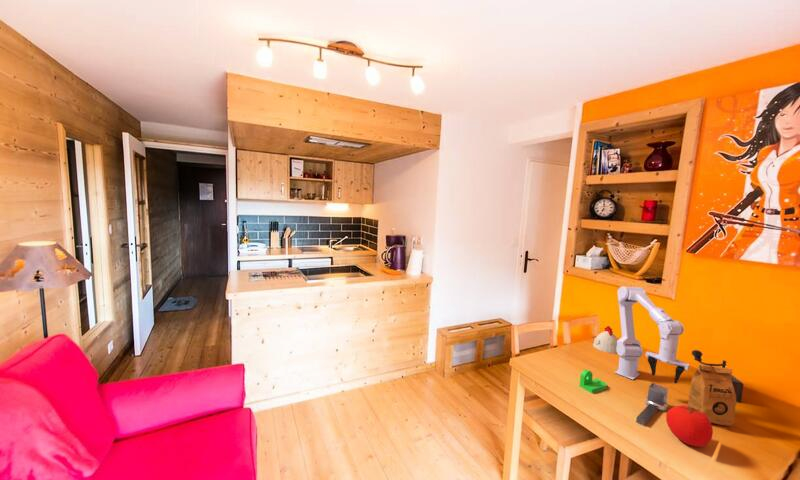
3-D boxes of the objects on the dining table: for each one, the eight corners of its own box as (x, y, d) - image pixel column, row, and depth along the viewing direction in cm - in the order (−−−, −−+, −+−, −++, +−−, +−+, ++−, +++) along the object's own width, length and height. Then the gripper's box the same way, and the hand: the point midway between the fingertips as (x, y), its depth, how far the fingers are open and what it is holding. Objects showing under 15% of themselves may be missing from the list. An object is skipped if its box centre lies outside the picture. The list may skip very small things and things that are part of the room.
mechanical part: (591, 393, 143) (593, 376, 143) (579, 386, 149) (581, 370, 148) (609, 388, 148) (610, 372, 148) (596, 382, 154) (598, 366, 153)
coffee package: (737, 431, 122) (746, 375, 120) (697, 423, 125) (704, 369, 123) (720, 415, 131) (727, 363, 129) (683, 408, 135) (690, 358, 133)
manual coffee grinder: (726, 391, 150) (732, 354, 149) (741, 404, 140) (747, 364, 138) (685, 383, 156) (690, 347, 154) (697, 395, 145) (702, 357, 144)
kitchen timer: (598, 354, 185) (601, 329, 183) (588, 344, 198) (591, 321, 197) (625, 357, 182) (628, 332, 181) (613, 347, 196) (616, 323, 195)
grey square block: (651, 396, 139) (652, 382, 138) (666, 402, 135) (668, 388, 134) (647, 400, 136) (648, 386, 135) (662, 406, 131) (664, 392, 131)
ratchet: (648, 399, 140) (650, 387, 140) (668, 407, 135) (670, 395, 134) (629, 419, 126) (630, 405, 125) (651, 429, 120) (653, 415, 120)
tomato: (714, 445, 113) (719, 411, 112) (705, 458, 106) (710, 423, 105) (670, 425, 123) (674, 394, 122) (659, 436, 116) (663, 403, 115)
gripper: (644, 344, 141) (641, 373, 143) (688, 357, 130) (683, 389, 131) (649, 341, 146) (646, 369, 147) (692, 353, 134) (688, 384, 136)
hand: (664, 378), depth 139 cm, fingers open, 7 cm apart
